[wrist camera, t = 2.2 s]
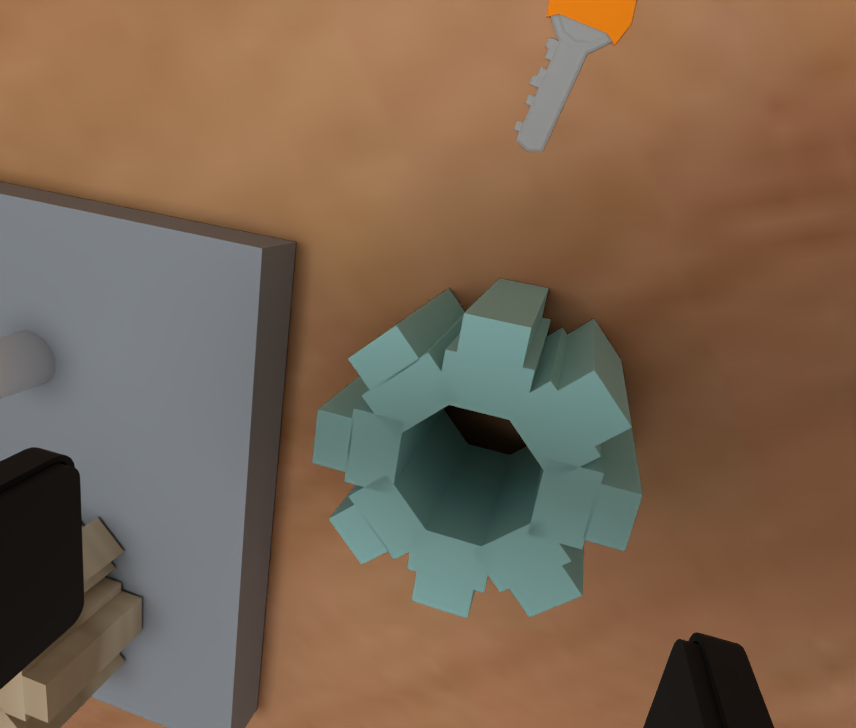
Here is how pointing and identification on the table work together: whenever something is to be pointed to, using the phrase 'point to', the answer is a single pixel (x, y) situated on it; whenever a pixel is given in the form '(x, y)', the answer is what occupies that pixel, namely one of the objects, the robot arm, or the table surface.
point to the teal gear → (484, 450)
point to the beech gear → (77, 645)
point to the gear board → (156, 424)
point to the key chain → (569, 59)
